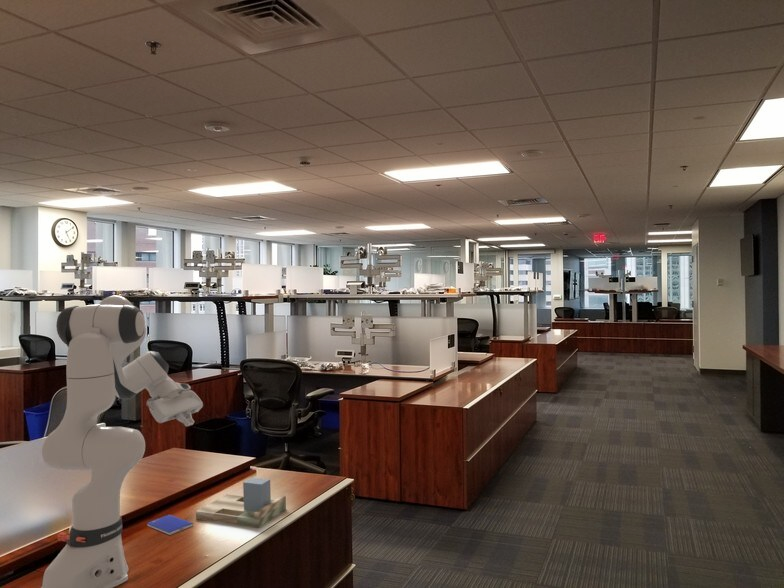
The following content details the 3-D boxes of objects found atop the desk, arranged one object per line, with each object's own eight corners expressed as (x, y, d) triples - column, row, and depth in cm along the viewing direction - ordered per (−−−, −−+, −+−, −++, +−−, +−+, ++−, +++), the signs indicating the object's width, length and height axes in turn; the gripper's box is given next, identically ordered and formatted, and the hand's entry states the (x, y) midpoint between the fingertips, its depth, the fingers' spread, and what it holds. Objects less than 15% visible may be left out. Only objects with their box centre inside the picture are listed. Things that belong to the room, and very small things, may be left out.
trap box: (258, 527, 179) (258, 513, 179) (196, 518, 188) (195, 505, 188) (286, 509, 194) (285, 495, 194) (226, 501, 202) (226, 488, 202)
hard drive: (147, 522, 183) (169, 531, 176) (170, 514, 190) (193, 522, 182) (147, 527, 183) (169, 536, 176) (170, 518, 190) (193, 527, 182)
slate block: (262, 512, 185) (261, 484, 185) (243, 509, 188) (243, 482, 187) (270, 506, 190) (270, 479, 190) (252, 504, 192) (252, 477, 192)
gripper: (149, 393, 188) (173, 425, 185) (191, 383, 207) (215, 412, 204) (138, 406, 190) (163, 438, 186) (182, 395, 209) (205, 423, 205)
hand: (190, 424), depth 195 cm, fingers closed
